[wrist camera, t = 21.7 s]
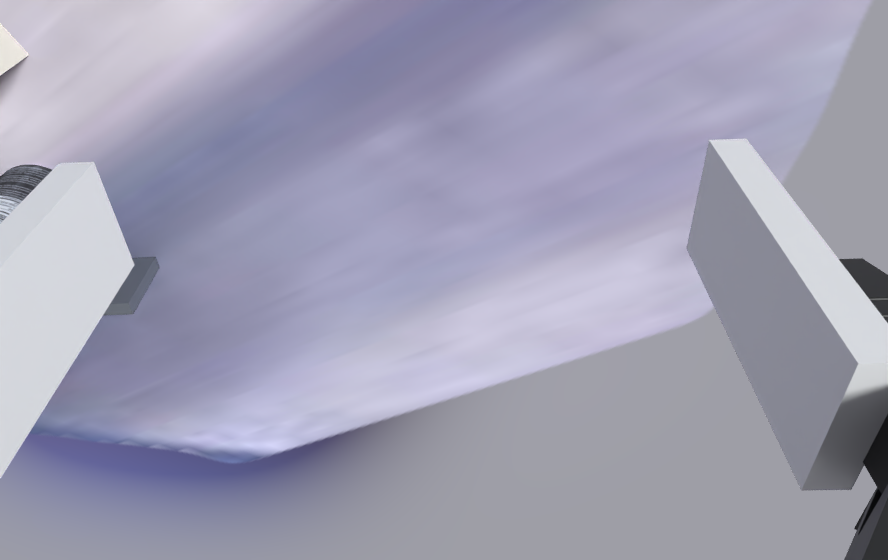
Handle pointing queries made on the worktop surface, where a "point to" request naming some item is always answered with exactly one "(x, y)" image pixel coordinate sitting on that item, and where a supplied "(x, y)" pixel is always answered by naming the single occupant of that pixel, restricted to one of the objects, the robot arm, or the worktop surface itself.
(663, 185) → the worktop surface
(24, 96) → the worktop surface
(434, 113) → the worktop surface
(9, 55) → the cream block
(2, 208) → the pill bottle
